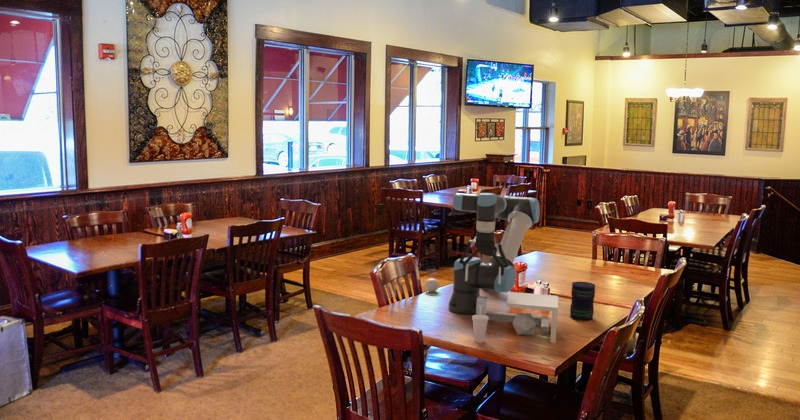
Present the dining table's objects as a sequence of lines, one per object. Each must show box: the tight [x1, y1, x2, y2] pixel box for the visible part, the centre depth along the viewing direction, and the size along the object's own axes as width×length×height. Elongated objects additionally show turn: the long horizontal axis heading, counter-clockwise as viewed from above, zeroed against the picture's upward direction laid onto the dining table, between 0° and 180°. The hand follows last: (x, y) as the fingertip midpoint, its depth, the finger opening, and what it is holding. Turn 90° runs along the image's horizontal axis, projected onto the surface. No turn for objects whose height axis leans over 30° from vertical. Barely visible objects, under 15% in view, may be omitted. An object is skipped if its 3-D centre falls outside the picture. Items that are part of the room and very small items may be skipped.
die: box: [512, 312, 537, 336], centre depth 273 cm, size 8×9×10 cm
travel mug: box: [481, 248, 498, 292], centre depth 340 cm, size 8×8×20 cm
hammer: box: [475, 295, 550, 335], centre depth 283 cm, size 30×14×11 cm, turn 77°
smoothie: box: [471, 305, 490, 344], centre depth 261 cm, size 6×6×14 cm
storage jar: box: [569, 281, 596, 322], centre depth 296 cm, size 10×10×15 cm
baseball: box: [423, 277, 440, 293], centre depth 332 cm, size 7×7×7 cm
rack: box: [505, 291, 559, 344], centre depth 273 cm, size 20×18×14 cm
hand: (482, 281), depth 282 cm, fingers open, 13 cm apart
